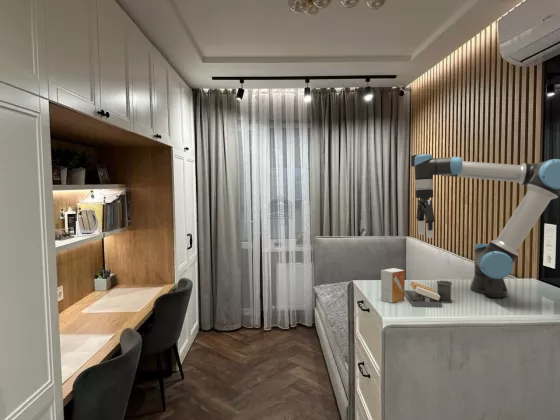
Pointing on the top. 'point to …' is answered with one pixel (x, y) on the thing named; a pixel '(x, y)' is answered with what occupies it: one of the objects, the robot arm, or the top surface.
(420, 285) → the paddle mid
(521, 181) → the robot arm
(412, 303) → the plate
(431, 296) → the beige rectangular tile
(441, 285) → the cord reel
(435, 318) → the top surface
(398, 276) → the small box
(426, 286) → the paddle far
